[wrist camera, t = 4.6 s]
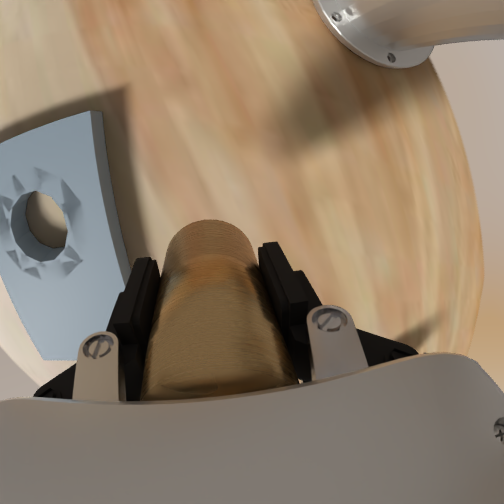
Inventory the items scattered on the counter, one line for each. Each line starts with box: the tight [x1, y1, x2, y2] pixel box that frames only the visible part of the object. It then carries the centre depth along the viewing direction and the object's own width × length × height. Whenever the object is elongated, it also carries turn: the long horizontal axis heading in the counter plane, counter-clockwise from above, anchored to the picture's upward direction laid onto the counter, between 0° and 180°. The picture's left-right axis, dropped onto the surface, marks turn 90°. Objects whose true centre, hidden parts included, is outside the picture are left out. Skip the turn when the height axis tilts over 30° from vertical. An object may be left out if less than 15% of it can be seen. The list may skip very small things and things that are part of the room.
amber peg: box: [140, 220, 300, 401], centre depth 9 cm, size 4×4×8 cm
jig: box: [0, 111, 131, 360], centre depth 19 cm, size 20×12×2 cm, turn 3°
